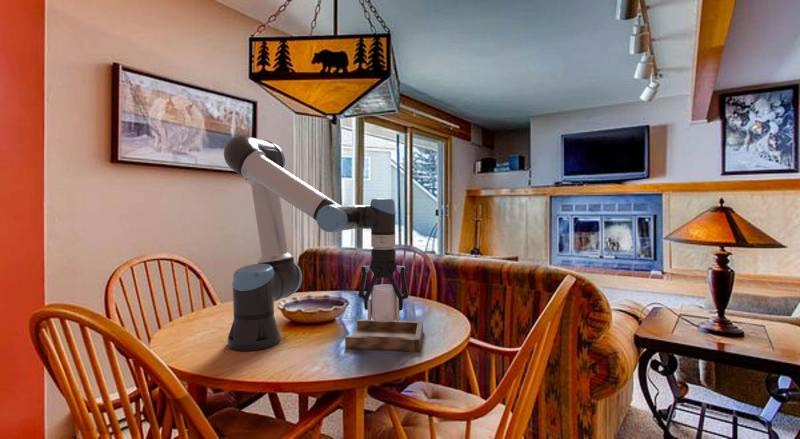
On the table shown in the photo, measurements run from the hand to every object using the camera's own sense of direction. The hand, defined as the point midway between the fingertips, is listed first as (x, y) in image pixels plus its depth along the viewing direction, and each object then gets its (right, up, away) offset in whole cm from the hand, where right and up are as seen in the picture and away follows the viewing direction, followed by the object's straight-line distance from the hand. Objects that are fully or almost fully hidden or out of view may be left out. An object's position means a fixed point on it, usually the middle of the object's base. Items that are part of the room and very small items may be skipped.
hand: (383, 319), depth 125 cm
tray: (+1, -6, 0) cm, 6 cm away
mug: (+1, 0, 0) cm, 1 cm away
